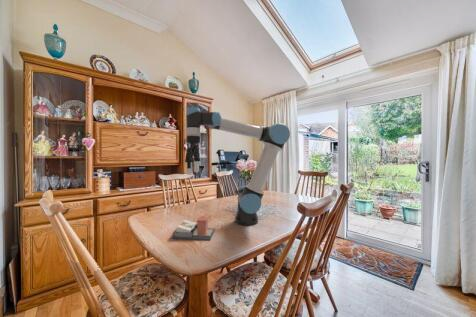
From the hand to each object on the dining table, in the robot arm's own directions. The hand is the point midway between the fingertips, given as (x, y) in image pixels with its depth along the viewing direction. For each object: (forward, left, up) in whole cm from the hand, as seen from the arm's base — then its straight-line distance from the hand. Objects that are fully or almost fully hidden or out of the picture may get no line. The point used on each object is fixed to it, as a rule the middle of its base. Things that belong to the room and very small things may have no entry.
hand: (193, 173), depth 114 cm
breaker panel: (-3, +5, -33) cm, 33 cm away
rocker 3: (+2, +6, -30) cm, 31 cm away
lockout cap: (-7, +5, -31) cm, 32 cm away
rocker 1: (+2, +9, -30) cm, 32 cm away
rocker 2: (+2, +1, -30) cm, 30 cm away
